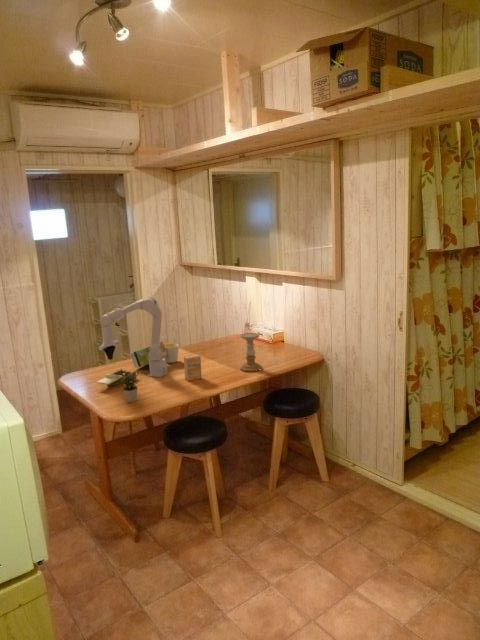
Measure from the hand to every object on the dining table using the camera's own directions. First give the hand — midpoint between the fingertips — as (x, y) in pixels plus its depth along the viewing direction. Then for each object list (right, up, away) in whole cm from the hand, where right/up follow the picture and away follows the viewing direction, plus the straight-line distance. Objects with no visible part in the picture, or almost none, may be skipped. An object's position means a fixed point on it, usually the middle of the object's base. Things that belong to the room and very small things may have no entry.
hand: (110, 359), depth 268 cm
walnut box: (+8, -12, -5) cm, 15 cm away
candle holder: (+79, -6, +7) cm, 80 cm away
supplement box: (+47, -11, -6) cm, 49 cm away
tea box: (+13, -1, +19) cm, 23 cm away
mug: (+30, -4, +26) cm, 40 cm away
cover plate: (+4, -10, -14) cm, 17 cm away
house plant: (+18, -18, -32) cm, 41 cm away
